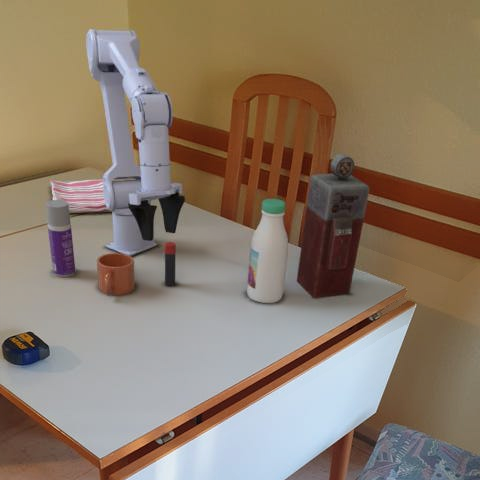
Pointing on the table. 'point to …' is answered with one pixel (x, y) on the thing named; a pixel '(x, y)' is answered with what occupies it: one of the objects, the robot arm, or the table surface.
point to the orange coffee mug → (116, 273)
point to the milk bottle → (268, 254)
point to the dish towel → (80, 195)
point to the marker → (170, 263)
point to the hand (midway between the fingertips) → (159, 236)
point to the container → (60, 238)
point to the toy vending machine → (332, 230)
